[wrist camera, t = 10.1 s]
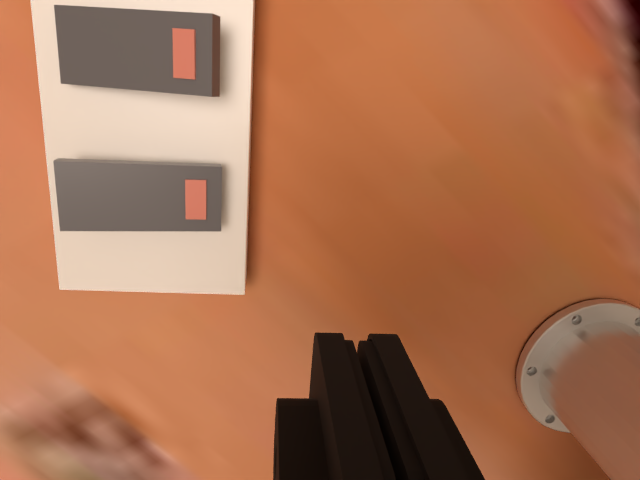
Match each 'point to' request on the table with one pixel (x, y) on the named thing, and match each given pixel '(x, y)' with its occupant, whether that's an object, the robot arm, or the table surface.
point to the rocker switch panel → (154, 158)
